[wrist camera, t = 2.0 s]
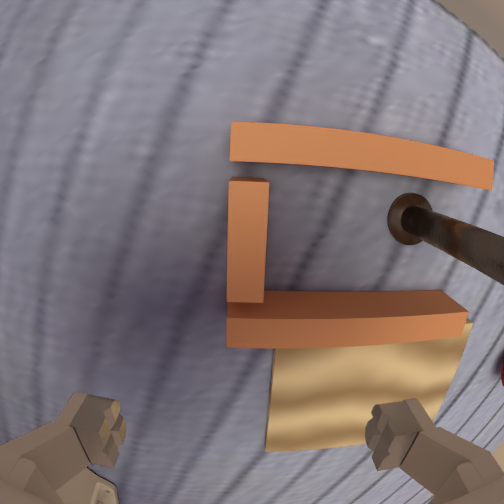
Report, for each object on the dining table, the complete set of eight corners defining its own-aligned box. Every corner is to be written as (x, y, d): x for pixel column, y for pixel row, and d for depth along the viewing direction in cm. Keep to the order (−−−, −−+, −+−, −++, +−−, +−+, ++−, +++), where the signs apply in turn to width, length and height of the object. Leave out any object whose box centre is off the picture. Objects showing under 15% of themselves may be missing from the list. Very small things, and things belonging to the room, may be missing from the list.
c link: (229, 315, 27) (226, 347, 22) (233, 130, 23) (231, 121, 18) (434, 312, 27) (461, 336, 23) (458, 158, 23) (493, 160, 18)
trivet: (424, 424, 32) (428, 430, 31) (264, 444, 31) (265, 451, 30) (467, 318, 28) (472, 323, 27) (275, 326, 27) (277, 333, 26)
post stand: (426, 244, 25) (558, 324, 10) (384, 242, 25) (515, 334, 10) (432, 195, 24) (580, 241, 9) (390, 190, 24) (541, 236, 9)
